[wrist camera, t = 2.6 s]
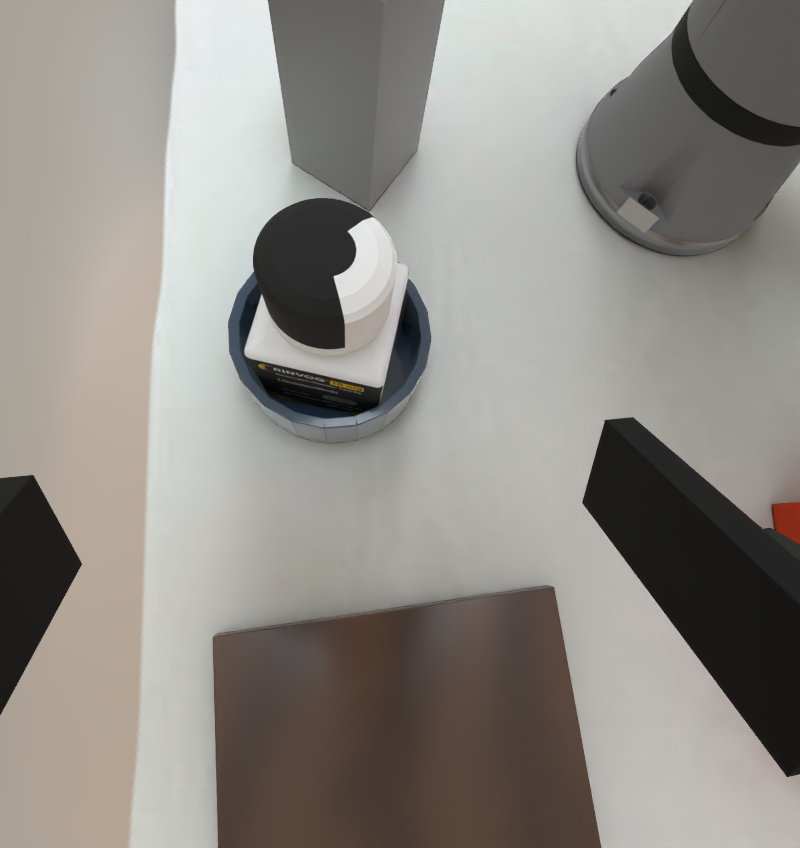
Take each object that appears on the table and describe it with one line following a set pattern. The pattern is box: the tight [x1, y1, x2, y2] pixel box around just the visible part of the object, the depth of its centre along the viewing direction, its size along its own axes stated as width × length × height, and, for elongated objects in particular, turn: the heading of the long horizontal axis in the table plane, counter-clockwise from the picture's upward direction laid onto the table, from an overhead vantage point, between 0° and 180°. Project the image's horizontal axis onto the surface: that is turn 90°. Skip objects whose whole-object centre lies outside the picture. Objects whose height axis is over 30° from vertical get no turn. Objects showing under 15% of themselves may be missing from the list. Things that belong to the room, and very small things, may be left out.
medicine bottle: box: [244, 198, 409, 415], centre depth 24 cm, size 7×7×12 cm
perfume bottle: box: [268, 0, 445, 211], centre depth 25 cm, size 7×7×18 cm
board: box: [213, 586, 601, 848], centre depth 25 cm, size 20×14×1 cm
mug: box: [228, 272, 431, 443], centre depth 28 cm, size 14×11×4 cm
